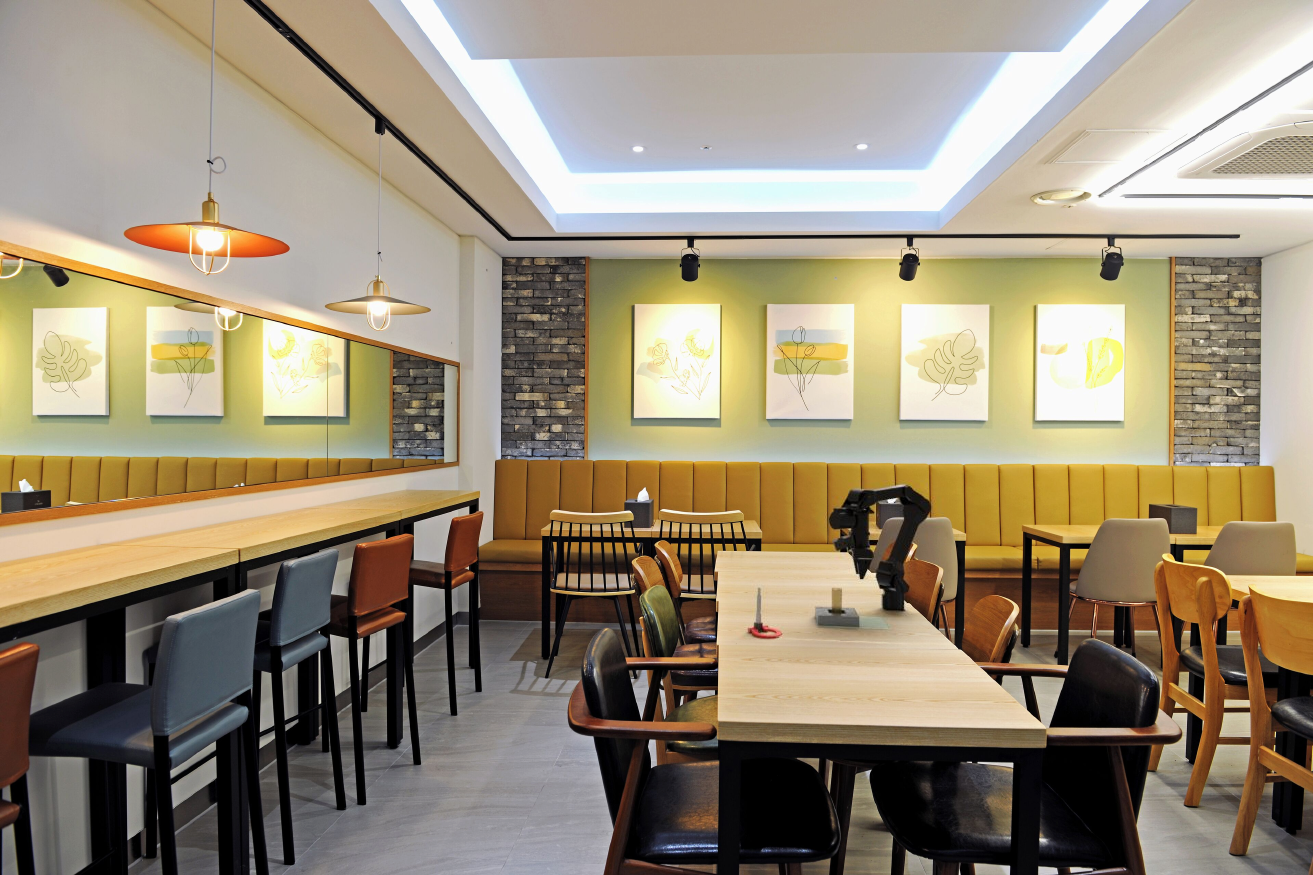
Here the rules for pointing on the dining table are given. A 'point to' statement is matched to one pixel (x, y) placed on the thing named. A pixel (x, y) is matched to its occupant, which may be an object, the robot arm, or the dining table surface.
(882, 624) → the mat
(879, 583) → the robot arm
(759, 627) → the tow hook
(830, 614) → the block
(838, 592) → the pin
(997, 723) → the dining table surface
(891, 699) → the dining table surface
